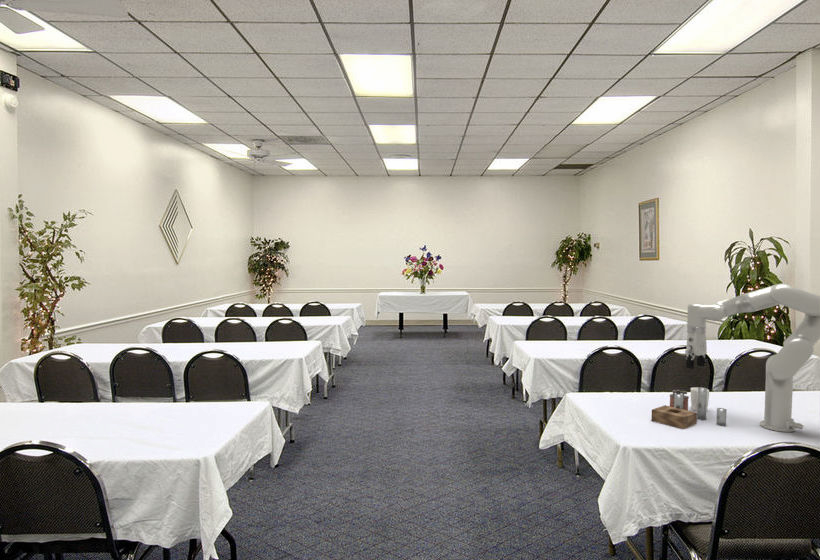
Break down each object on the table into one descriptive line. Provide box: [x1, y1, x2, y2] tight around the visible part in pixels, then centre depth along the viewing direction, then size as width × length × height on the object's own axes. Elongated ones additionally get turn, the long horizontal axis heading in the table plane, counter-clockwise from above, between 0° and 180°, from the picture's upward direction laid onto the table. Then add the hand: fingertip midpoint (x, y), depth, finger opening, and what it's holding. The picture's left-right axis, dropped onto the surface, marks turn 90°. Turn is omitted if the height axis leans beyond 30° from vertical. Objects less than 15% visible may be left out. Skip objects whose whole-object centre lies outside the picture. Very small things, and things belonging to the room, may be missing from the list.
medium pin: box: [674, 393, 683, 409], centre depth 237 cm, size 4×4×10 cm
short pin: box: [716, 407, 727, 427], centre depth 226 cm, size 4×4×7 cm
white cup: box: [690, 387, 710, 413], centre depth 248 cm, size 8×8×10 cm
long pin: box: [696, 386, 708, 421], centre depth 234 cm, size 4×4×14 cm
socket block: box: [650, 404, 698, 430], centre depth 229 cm, size 14×12×5 cm
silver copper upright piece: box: [669, 389, 690, 411], centre depth 246 cm, size 8×3×10 cm, turn 62°
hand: (695, 367), depth 239 cm, fingers open, 9 cm apart
